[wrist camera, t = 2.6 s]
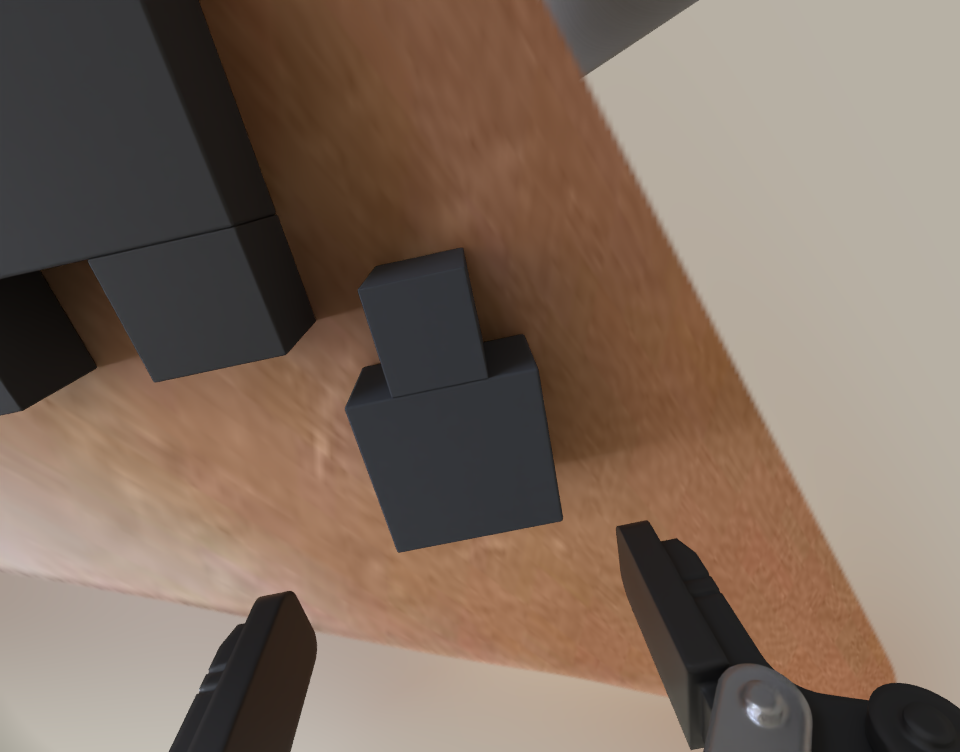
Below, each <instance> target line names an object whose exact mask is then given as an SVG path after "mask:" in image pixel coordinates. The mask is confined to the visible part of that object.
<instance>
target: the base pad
mask: <svg viewBox="0 0 960 752" xmlns="http://www.w3.org/2000/svg"><path fill="white" fill-rule="evenodd" d="M88 259H89V260H88ZM83 260H88V263H89V265H90V267H91V268H92V270H93V272H94V274H95V276H96V277H97V279H98V281H99V283H100V285H101V287H102V288H103V290H104V292H105V294H106V296H107V298H108V299H109V301H110V303H111V305H112V307H113V308H114V310H115V312H116V314H117V316H118V318H119V319H120V321H121V323H122V325H123V327H124V329H125V330H126V332H127V334H128V336H129V338H130V339H131V341H132V343H133V345H134V347H135V349H136V350H137V352H138V354H139V356H140V358H141V360H142V361H143V363H144V365H145V367H146V369H147V370H148V372H149V374H150V376H151V378H152V380H153V381H154V382H160V381H165V380H170V379H174V378H179V377H184V376H189V375H193V374H198V373H203V372H207V371H212V370H217V369H222V368H226V367H231V366H236V365H241V364H245V363H250V362H255V361H259V360H264V359H269V358H274V357H278V356H283V355H286V354H287V353H288V352H289V351H290V350H291V349H292V348H293V347H294V345H295V344H296V343H297V342H298V341H299V340H300V339H301V337H302V336H303V335H304V334H305V333H306V332H307V331H308V329H309V328H310V327H311V326H312V325H313V324H314V323H315V321H316V319H315V317H314V314H313V311H312V308H311V306H310V303H309V300H308V297H307V295H306V292H305V289H304V287H303V284H302V281H301V278H300V276H299V273H298V270H297V267H296V265H295V262H294V259H293V256H292V254H291V251H290V248H289V246H288V243H287V240H286V237H285V235H284V232H283V229H282V226H281V224H280V221H279V218H278V216H277V215H275V209H274V206H273V203H272V201H271V198H270V195H269V192H268V190H267V187H266V184H265V181H264V179H263V176H262V173H261V171H260V168H259V165H258V162H257V160H256V157H255V154H254V151H253V149H252V146H251V143H250V140H249V138H248V135H247V132H246V130H245V127H244V124H243V121H242V119H241V116H240V113H239V110H238V108H237V105H236V102H235V100H234V97H233V94H232V91H231V89H230V86H229V83H228V80H227V78H226V75H225V72H224V69H223V67H222V64H221V61H220V59H219V56H218V53H217V50H216V48H215V45H214V42H213V39H212V37H211V34H210V31H209V29H208V26H207V23H206V20H205V18H204V15H203V12H202V9H201V7H200V4H199V1H198V0H0V415H5V414H10V413H14V412H19V411H23V410H25V409H27V408H28V407H30V406H32V405H34V404H35V403H37V402H39V401H41V400H42V399H44V398H46V397H48V396H49V395H51V394H53V393H54V392H56V391H58V390H60V389H61V388H63V387H65V386H67V385H68V384H70V383H72V382H74V381H75V380H77V379H79V378H81V377H82V376H84V375H86V374H88V373H89V372H91V371H93V370H95V369H96V368H97V366H96V365H95V363H94V361H93V360H92V358H91V356H90V355H89V353H88V351H87V350H86V348H85V346H84V344H83V343H82V341H81V339H80V338H79V336H78V334H77V333H76V331H75V329H74V328H73V326H72V324H71V323H70V321H69V319H68V318H67V316H66V314H65V313H64V311H63V309H62V308H61V306H60V304H59V303H58V301H57V299H56V297H55V296H54V294H53V292H52V291H51V289H50V287H49V286H48V284H47V282H46V281H45V279H44V277H43V276H42V274H41V272H40V271H39V270H43V269H47V268H52V267H56V266H61V265H65V264H70V263H74V262H79V261H83Z"/></svg>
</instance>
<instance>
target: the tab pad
mask: <svg viewBox="0 0 960 752" xmlns="http://www.w3.org/2000/svg"><path fill="white" fill-rule="evenodd" d="M358 293H359V296H360V300H361V303H362V306H363V309H364V312H365V315H366V318H367V322H368V325H369V328H370V331H371V334H372V337H373V340H374V344H375V347H376V350H377V353H378V356H379V359H380V362H381V364H378V365H373V366H368V367H364V368H363V369H362V371H361V373H360V375H359V377H358V380H357V382H356V384H355V386H354V389H353V391H352V393H351V395H350V398H349V400H348V402H347V404H346V407H345V411H346V414H347V417H348V419H349V422H350V425H351V428H352V430H353V433H354V436H355V438H356V441H357V444H358V446H359V449H360V452H361V455H362V457H363V460H364V463H365V465H366V468H367V471H368V474H369V476H370V479H371V482H372V484H373V487H374V490H375V492H376V495H377V498H378V501H379V503H380V506H381V509H382V511H383V514H384V517H385V520H386V522H387V525H388V528H389V530H390V533H391V536H392V538H393V541H394V544H395V547H396V549H397V552H405V551H410V550H415V549H420V548H425V547H431V546H436V545H441V544H446V543H451V542H456V541H462V540H467V539H472V538H477V537H482V536H487V535H493V534H498V533H503V532H508V531H513V530H518V529H524V528H529V527H534V526H539V525H544V524H549V523H555V522H560V521H562V520H563V514H562V508H561V502H560V496H559V490H558V484H557V478H556V472H555V466H554V460H553V454H552V448H551V442H550V436H549V430H548V424H547V418H546V412H545V406H544V400H543V394H542V388H541V382H540V376H539V370H538V367H537V365H536V362H535V360H534V358H533V355H532V353H531V350H530V348H529V345H528V343H527V340H526V338H525V336H524V335H523V334H521V335H516V336H511V337H506V338H502V339H497V340H492V341H487V342H483V339H482V334H481V329H480V325H479V320H478V315H477V311H476V306H475V301H474V297H473V292H472V287H471V283H470V278H469V273H468V269H467V264H466V259H465V255H464V250H463V248H457V249H453V250H448V251H443V252H439V253H434V254H430V255H425V256H420V257H416V258H411V259H407V260H402V261H397V262H393V263H388V264H384V265H379V266H376V267H375V268H374V269H373V270H372V272H371V273H370V274H369V276H368V277H367V278H366V280H365V281H364V282H363V284H362V285H361V286H360V287H359V289H358Z"/></svg>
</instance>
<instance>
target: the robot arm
mask: <svg viewBox="0 0 960 752" xmlns="http://www.w3.org/2000/svg"><path fill="white" fill-rule="evenodd" d="M616 535H617V544H618V553H619V562H620V571H621V577H622V581H623V585H624V588H625V592H626V595H627V598H628V600H629V603H630V605H631V607H632V610H633V612H634V615H635V617H636V619H637V622H638V624H639V627H640V629H641V631H642V634H643V636H644V639H645V641H646V644H647V646H648V648H649V651H650V653H651V656H652V658H653V660H654V663H655V665H656V668H657V670H658V672H659V675H660V677H661V680H662V682H663V684H664V687H665V689H666V692H667V694H668V696H669V699H670V701H671V704H672V706H673V708H674V711H675V713H676V715H677V718H678V721H679V723H680V725H681V727H682V730H683V733H684V735H685V737H686V740H687V742H688V744H689V747H690V749H691V750H693V749H699V748H704V751H703V752H960V709H959V708H958V707H957V706H955V705H954V704H953V703H951V702H950V701H948V700H947V699H945V698H943V697H941V696H939V695H938V694H935V693H934V692H931V691H929V690H927V689H924V688H921V687H918V686H915V685H910V684H904V683H890V684H885V685H882V686H880V687H878V688H877V689H876V690H875V691H873V693H872V695H871V696H870V699H869V700H862V699H855V698H848V697H841V696H834V695H827V694H821V693H816V692H813V691H810V690H807V689H804V688H802V687H800V686H797V685H796V684H794V683H792V682H791V681H790V680H789V679H787V678H786V677H785V676H783V675H782V674H780V673H778V672H777V671H775V670H774V669H773V668H772V667H771V666H770V665H769V664H768V663H767V662H766V660H765V659H764V658H763V656H762V655H761V653H760V652H759V650H758V649H757V647H756V646H755V644H754V642H753V641H752V639H751V638H750V636H749V635H748V633H747V632H746V630H745V628H744V627H743V625H742V624H741V622H740V621H739V619H738V618H737V616H736V614H735V613H734V611H733V610H732V608H731V607H730V605H729V604H728V602H727V601H726V599H725V597H724V596H723V594H722V593H720V591H719V588H718V587H717V585H716V583H715V582H714V580H713V579H712V577H711V576H709V573H708V571H707V569H706V568H705V566H704V565H703V563H702V562H701V560H700V559H699V557H698V555H697V554H696V553H695V552H694V551H693V550H691V549H690V548H689V547H687V546H686V545H685V544H683V543H682V542H681V541H679V540H678V539H677V538H676V539H671V540H666V541H660V540H659V538H658V536H657V534H656V533H655V531H654V529H653V527H652V526H651V524H650V523H649V522H648V521H647V520H645V521H640V522H635V523H631V524H626V525H621V526H617V527H616ZM316 654H317V642H316V636H315V632H314V630H313V628H312V626H311V624H310V622H309V620H308V618H307V616H306V614H305V612H304V610H303V608H302V606H301V604H300V602H299V600H298V598H297V596H296V595H295V593H294V592H292V591H287V592H282V593H277V594H272V595H267V596H262V597H259V598H258V599H257V600H256V601H255V603H254V605H253V607H252V609H251V612H250V614H249V616H248V618H247V620H246V623H245V624H239V625H237V626H236V628H235V629H234V630H233V631H232V632H231V634H230V635H229V636H228V637H227V639H226V640H225V641H224V642H223V643H222V644H221V646H220V647H219V649H218V651H217V653H216V655H215V657H214V659H213V662H212V664H211V666H210V668H209V673H208V674H206V676H205V678H204V680H203V682H202V684H201V687H200V688H199V690H200V691H199V694H197V695H196V697H195V699H194V701H193V703H192V705H191V707H190V709H189V711H188V713H187V715H186V717H185V719H184V722H183V724H182V726H181V728H180V730H179V732H178V734H177V736H176V738H175V740H174V742H173V744H172V746H171V748H170V750H169V752H290V751H291V748H292V744H293V740H294V737H295V732H296V729H297V726H298V722H299V718H300V715H301V711H302V707H303V704H304V700H305V697H306V693H307V689H308V685H309V682H310V678H311V675H312V671H313V668H314V664H315V660H316Z"/></svg>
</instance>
